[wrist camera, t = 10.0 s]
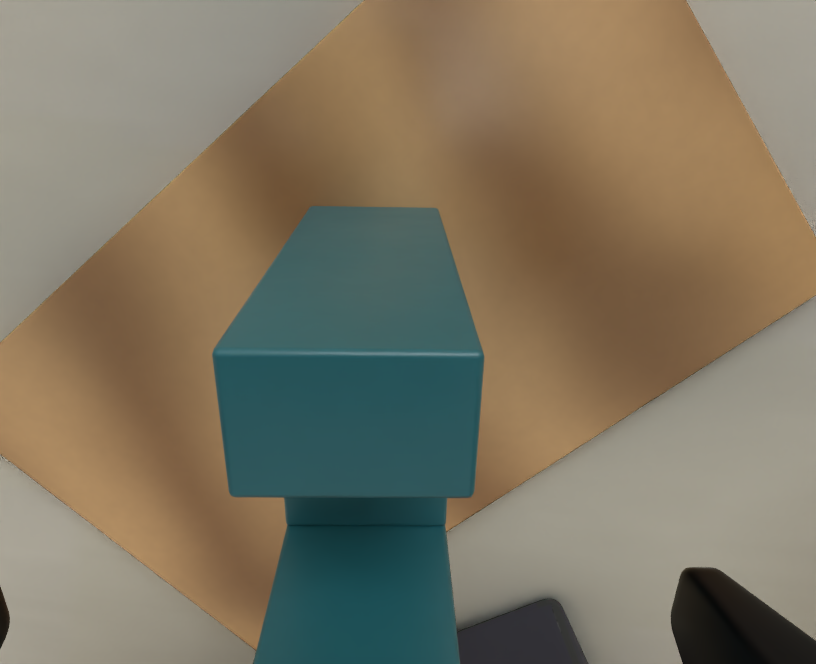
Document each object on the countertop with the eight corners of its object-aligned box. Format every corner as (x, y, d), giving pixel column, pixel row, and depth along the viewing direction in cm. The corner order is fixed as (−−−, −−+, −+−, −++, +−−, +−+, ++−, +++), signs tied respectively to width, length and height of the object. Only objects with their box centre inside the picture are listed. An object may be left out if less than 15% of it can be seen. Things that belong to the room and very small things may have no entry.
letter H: (439, 207, 14) (486, 353, 7) (429, 460, 17) (455, 764, 9) (309, 205, 14) (209, 350, 6) (321, 459, 17) (260, 765, 9)
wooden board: (569, -188, 12) (577, -202, 11) (825, 273, 15) (840, 280, 15) (-51, 393, 16) (-67, 404, 16) (262, 637, 20) (258, 653, 19)
